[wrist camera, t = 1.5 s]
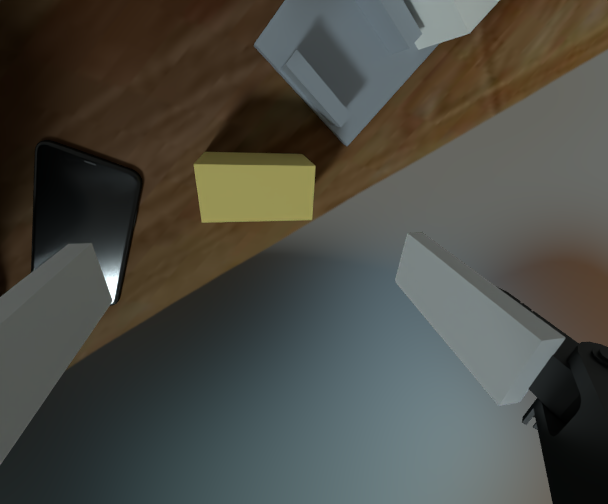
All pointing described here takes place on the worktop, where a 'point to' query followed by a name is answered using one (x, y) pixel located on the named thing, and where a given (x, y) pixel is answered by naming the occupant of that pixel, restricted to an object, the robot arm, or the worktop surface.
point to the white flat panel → (446, 18)
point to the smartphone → (84, 208)
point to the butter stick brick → (254, 186)
